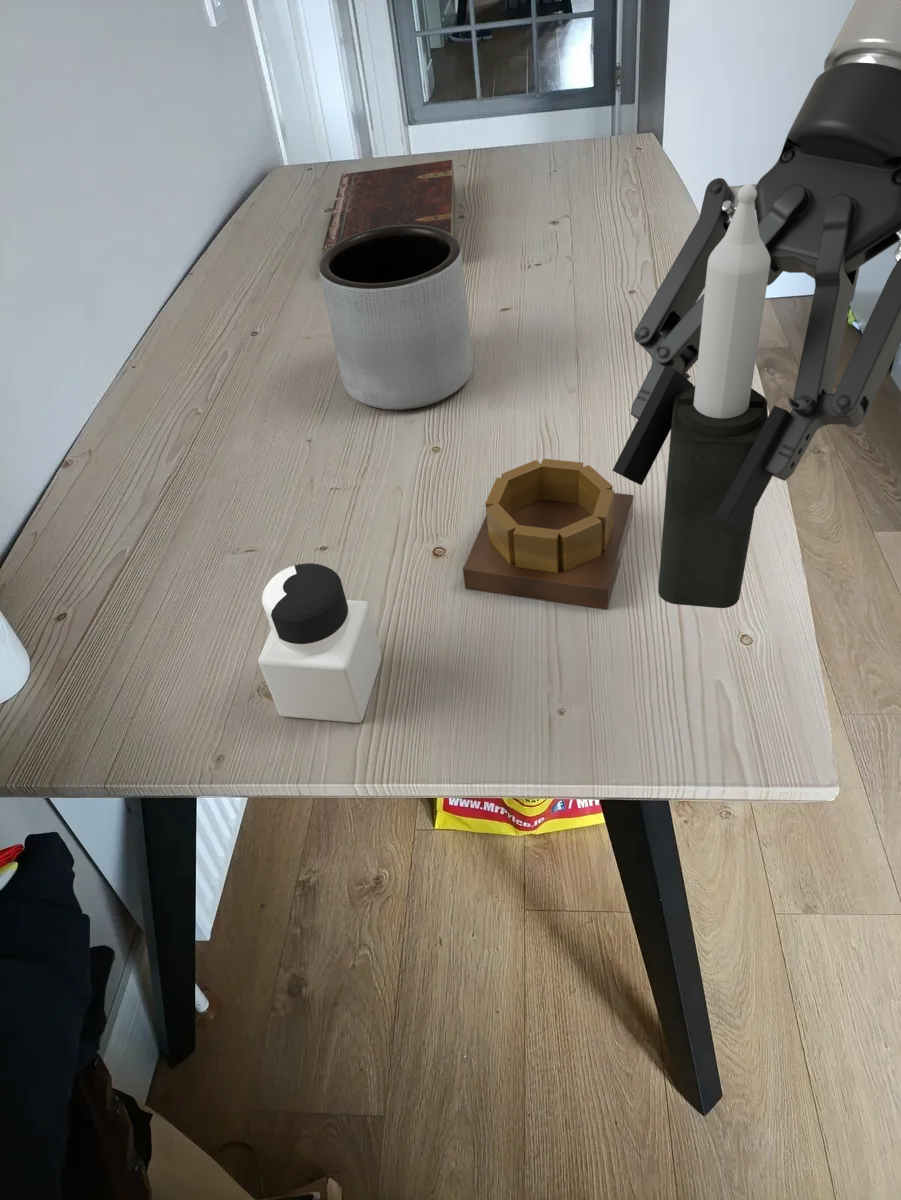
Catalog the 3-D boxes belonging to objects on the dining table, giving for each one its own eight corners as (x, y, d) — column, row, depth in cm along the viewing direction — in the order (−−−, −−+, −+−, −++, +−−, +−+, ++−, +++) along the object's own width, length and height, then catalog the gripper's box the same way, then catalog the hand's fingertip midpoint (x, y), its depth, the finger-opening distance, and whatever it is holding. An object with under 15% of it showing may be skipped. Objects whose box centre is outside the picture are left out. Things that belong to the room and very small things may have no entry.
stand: (632, 515, 85) (635, 460, 80) (607, 610, 76) (609, 554, 72) (503, 500, 88) (498, 446, 84) (465, 588, 80) (457, 535, 75)
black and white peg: (739, 610, 55) (810, 206, 38) (656, 603, 57) (688, 208, 39) (740, 556, 59) (805, 163, 41) (662, 550, 60) (693, 166, 42)
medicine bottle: (383, 658, 75) (357, 554, 67) (362, 725, 70) (332, 622, 62) (304, 652, 76) (269, 550, 68) (278, 718, 72) (238, 616, 63)
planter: (368, 342, 114) (345, 222, 103) (487, 347, 110) (477, 222, 99) (325, 412, 103) (294, 286, 92) (455, 419, 99) (440, 289, 88)
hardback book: (345, 202, 149) (339, 172, 146) (455, 191, 148) (452, 159, 144) (327, 279, 129) (320, 245, 125) (454, 266, 127) (450, 232, 124)
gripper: (1089, 167, 43) (849, 583, 48) (747, 113, 54) (576, 456, 58) (1090, 77, 37) (815, 563, 41) (704, 36, 48) (517, 425, 52)
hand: (676, 500), depth 50 cm, fingers closed on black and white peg, 6 cm apart
